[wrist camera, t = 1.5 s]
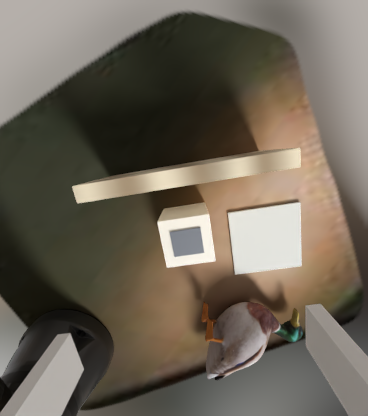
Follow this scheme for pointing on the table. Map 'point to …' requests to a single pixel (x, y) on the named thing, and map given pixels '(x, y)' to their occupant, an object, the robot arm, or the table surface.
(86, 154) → the table surface
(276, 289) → the table surface
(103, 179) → the birch screen
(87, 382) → the robot arm
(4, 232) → the table surface
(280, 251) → the felt mat
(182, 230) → the cream cube
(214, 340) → the decorative duck model
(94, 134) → the table surface
